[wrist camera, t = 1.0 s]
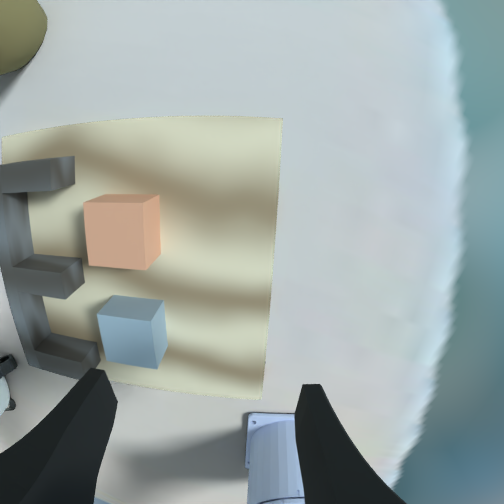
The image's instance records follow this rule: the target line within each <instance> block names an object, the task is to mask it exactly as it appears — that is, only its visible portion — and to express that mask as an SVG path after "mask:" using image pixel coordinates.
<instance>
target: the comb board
mask: <svg viewBox="0 0 504 504" xmlns="http://www.w3.org/2000/svg"><path fill="white" fill-rule="evenodd" d="M282 123H283V118H267V117H246V116H167V117H146V118H131V119H118V120H107V121H98V122H89V123H80V124H73V125H66V126H59V127H52V128H46V129H40V130H35V131H29V132H24V133H19V134H14V135H9V136H5V137H2V165H0V267H1V272H2V276H3V281H4V285H5V289H6V293H7V297H8V301H9V305H10V309H11V312H12V316H13V319H14V322H15V326H16V329H17V332H18V335H19V338H20V341H21V344H22V347H23V350H24V353H25V356H26V358H27V361H28V364H29V365H30V366H33V367H36V368H40V369H43V370H46V371H49V372H53V373H56V374H60V375H63V376H67V377H71V378H74V379H78V380H80V379H81V378H82V377H83V375H84V374H85V373H86V372H87V371H88V370H89V369H90V368H95V369H101V370H105V372H106V374H107V377H108V379H109V380H110V381H115V382H120V383H125V384H130V385H136V386H141V387H147V388H153V389H159V390H166V391H173V392H180V393H188V394H196V395H205V396H214V397H225V398H237V399H252V400H261V399H262V389H263V378H264V368H265V357H266V346H267V334H268V323H269V311H270V299H271V287H272V274H273V261H274V248H275V234H276V220H277V205H278V190H279V175H280V158H281V141H282ZM104 194H159V204H160V242H161V254H160V255H159V256H158V258H157V259H156V260H155V261H154V262H153V263H152V264H151V265H150V267H149V268H148V269H147V270H135V269H123V268H112V267H100V266H89V261H88V253H87V244H86V234H85V223H84V210H83V202H86V201H88V200H91V199H93V198H96V197H99V196H101V195H104ZM113 295H120V296H129V297H138V298H147V299H157V300H164V309H165V321H166V331H167V341H168V347H167V349H166V351H165V353H164V356H163V358H162V360H161V362H160V364H159V367H158V369H150V368H144V367H138V366H132V365H126V364H121V363H115V362H110V361H107V360H106V356H105V351H104V347H103V342H102V338H101V333H100V328H99V323H98V318H97V313H98V312H99V311H100V310H101V309H102V308H103V306H104V305H105V304H106V303H107V302H108V301H109V300H110V299H111V298H112V297H113Z"/></svg>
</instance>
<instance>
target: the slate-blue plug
mask: <svg viewBox="0 0 504 504" xmlns="http://www.w3.org/2000/svg"><path fill="white" fill-rule="evenodd" d="M97 318H98V323H99V328H100V333H101V338H102V342H103V347H104V351H105V356H106V360H107V361H110V362H115V363H121V364H126V365H132V366H138V367H144V368H150V369H158V367H159V364H160V362H161V360H162V358H163V356H164V353H165V351H166V349H167V347H168V341H167V331H166V321H165V309H164V300H157V299H147V298H138V297H129V296H120V295H113V297H112V298H111V299H110V300H109V301H108V302H107V303H106V304H105V305H104V306H103V308H102V309H101V310H100V311H99V312H98V313H97Z"/></svg>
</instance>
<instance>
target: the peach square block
mask: <svg viewBox="0 0 504 504" xmlns="http://www.w3.org/2000/svg"><path fill="white" fill-rule="evenodd" d="M83 210H84V223H85V234H86V244H87V253H88V261H89V266H100V267H112V268H123V269H135V270H147V269H148V268H149V267H150V265H151V264H152V263H153V262H154V261H155V260H156V259H157V258H158V256H159V255H160V254H161V242H160V204H159V194H104V195H101V196H99V197H96V198H93V199H91V200H88V201H86V202H83Z"/></svg>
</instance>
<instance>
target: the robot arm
mask: <svg viewBox="0 0 504 504" xmlns="http://www.w3.org/2000/svg"><path fill="white" fill-rule="evenodd" d="M117 403H118V401H117V399H116V397H115V394H114V392H113V389H112V387H111V384H110V382H109V379H108V377H107V374H106V372H105V370H101V369H95V368H90V369H89V370H88V371H87V372H86V373H85V374H84V375H83V377H82V378H81V379H80V380H79V381H78V382H77V383H76V385H75V386H74V387H73V388H72V389H71V390H70V391H69V393H68V394H67V395H66V396H65V397H64V398H63V399H62V400H61V401H60V402H59V403H58V405H57V406H56V407H55V408H54V409H53V410H52V411H51V412H50V413H49V414H48V415H47V416H46V417H45V418H44V419H43V420H42V421H41V422H40V423H39V424H38V425H37V426H36V427H35V428H33V429H32V430H31V431H30V432H29V433H28V434H26V435H25V436H24V437H23V438H22V439H20V440H19V441H18V442H16V443H15V444H14V445H12V446H11V447H10V448H8V449H7V450H5V451H4V452H2V453H0V504H93V503H94V495H95V489H96V482H97V477H98V473H99V469H100V466H101V462H102V459H103V456H104V453H105V450H106V446H107V443H108V440H109V437H110V434H111V431H112V428H113V424H114V419H115V414H116V409H117ZM245 468H247V469H249V479H248V495H247V504H406V503H405V502H404V501H403V500H402V499H401V498H400V497H399V496H398V495H397V494H396V493H395V492H393V491H392V490H391V489H390V488H389V487H388V486H387V485H386V484H385V483H384V482H383V480H382V479H381V478H380V477H379V476H378V475H377V474H376V473H375V471H374V470H373V469H372V468H371V467H370V465H369V464H368V463H367V462H366V460H365V459H364V458H363V456H362V455H361V454H360V452H359V451H358V449H357V448H356V446H355V445H354V444H353V442H352V440H351V439H350V437H349V436H348V434H347V433H346V431H345V429H344V428H343V426H342V424H341V423H340V421H339V419H338V417H337V416H336V414H335V412H334V410H333V408H332V406H331V404H330V402H329V400H328V398H327V396H326V394H325V392H324V390H323V388H322V386H321V385H320V384H303V385H302V389H301V393H300V396H299V400H298V404H297V407H296V411H295V414H267V413H251V414H249V416H248V428H247V443H246V458H245Z"/></svg>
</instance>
